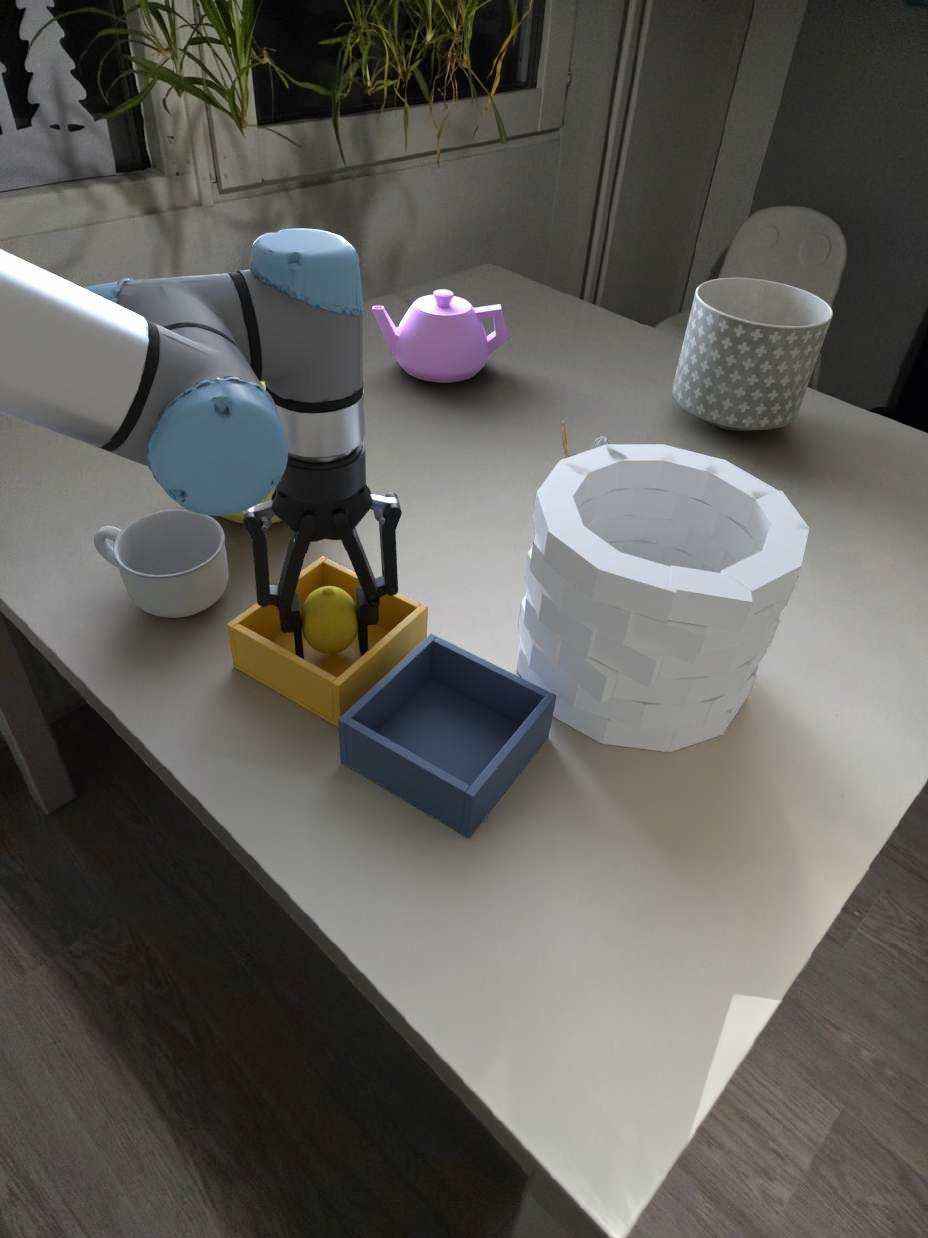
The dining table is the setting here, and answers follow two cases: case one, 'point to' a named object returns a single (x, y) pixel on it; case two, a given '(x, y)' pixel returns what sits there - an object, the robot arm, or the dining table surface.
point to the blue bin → (446, 732)
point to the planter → (749, 352)
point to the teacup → (169, 561)
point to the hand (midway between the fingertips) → (331, 649)
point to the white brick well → (654, 591)
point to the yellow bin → (323, 677)
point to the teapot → (442, 337)
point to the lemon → (329, 620)
